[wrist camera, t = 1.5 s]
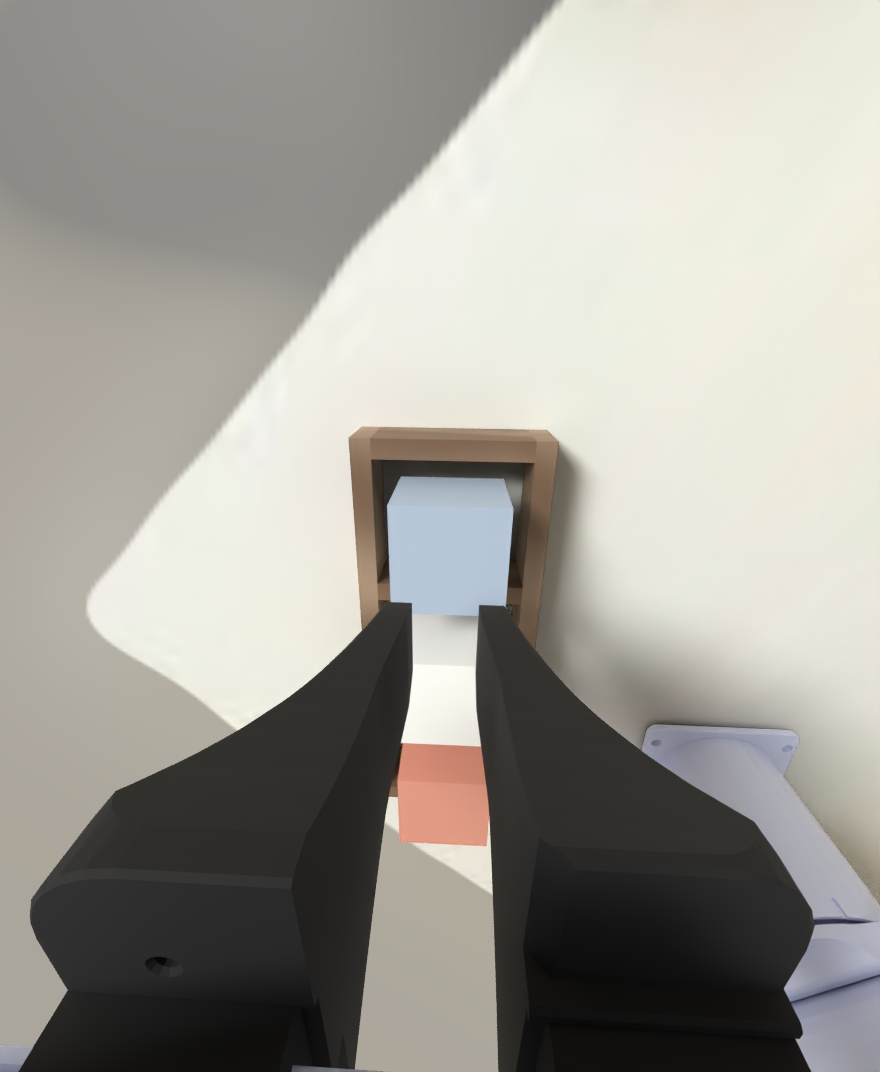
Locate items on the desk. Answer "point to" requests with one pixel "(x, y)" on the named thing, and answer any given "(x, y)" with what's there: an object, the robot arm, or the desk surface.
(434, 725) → the key white
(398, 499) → the key blue
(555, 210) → the desk surface
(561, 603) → the desk surface
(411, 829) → the key terracotta
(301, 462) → the desk surface
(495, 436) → the frame
